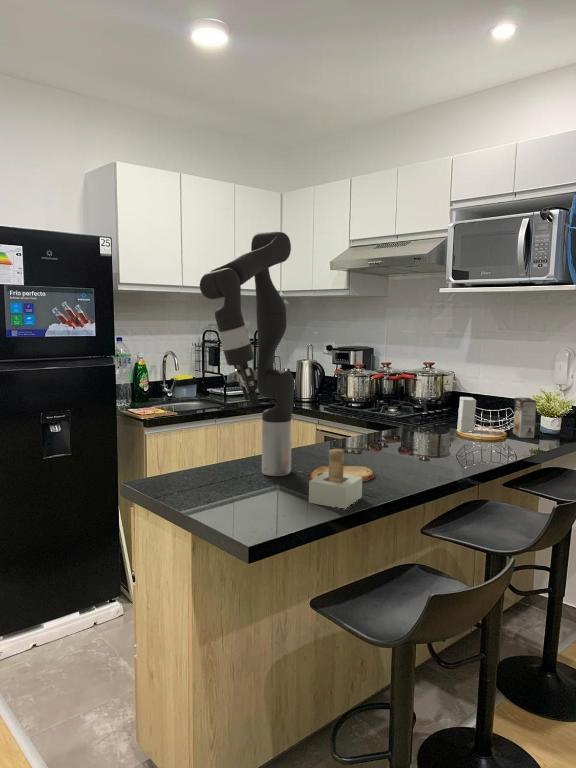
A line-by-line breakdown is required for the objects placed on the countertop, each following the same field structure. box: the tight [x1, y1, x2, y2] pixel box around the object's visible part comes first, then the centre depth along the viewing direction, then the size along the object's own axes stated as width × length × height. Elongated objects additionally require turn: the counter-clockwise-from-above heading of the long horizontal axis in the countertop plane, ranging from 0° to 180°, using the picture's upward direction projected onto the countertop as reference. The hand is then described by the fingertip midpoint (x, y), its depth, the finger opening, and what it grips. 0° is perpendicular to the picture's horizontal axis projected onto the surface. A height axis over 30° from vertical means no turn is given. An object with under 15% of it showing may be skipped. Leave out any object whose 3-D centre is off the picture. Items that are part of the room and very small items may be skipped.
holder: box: [308, 472, 363, 510], centre depth 159 cm, size 11×11×6 cm
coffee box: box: [512, 397, 537, 439], centre depth 249 cm, size 9×6×16 cm
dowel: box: [328, 448, 345, 483], centre depth 158 cm, size 4×4×14 cm
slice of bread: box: [309, 465, 375, 482], centre depth 181 cm, size 18×18×4 cm
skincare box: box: [456, 396, 477, 433], centre depth 258 cm, size 8×6×15 cm
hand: (252, 402), depth 157 cm, fingers open, 8 cm apart
